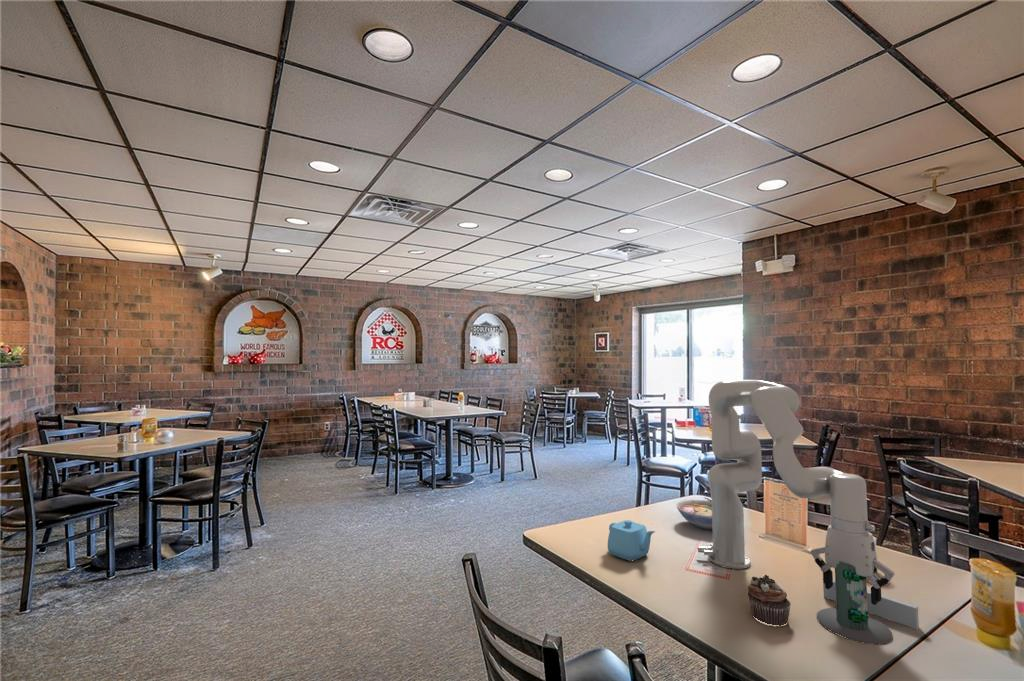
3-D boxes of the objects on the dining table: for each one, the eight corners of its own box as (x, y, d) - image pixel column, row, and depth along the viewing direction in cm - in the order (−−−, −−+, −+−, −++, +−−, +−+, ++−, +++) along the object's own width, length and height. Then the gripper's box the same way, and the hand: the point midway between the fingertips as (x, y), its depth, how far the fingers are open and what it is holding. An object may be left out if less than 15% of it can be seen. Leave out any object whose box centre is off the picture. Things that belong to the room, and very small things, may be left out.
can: (859, 632, 111) (857, 568, 112) (832, 620, 117) (830, 559, 118) (872, 625, 114) (869, 563, 115) (844, 614, 120) (842, 554, 120)
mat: (837, 641, 109) (836, 639, 109) (805, 608, 124) (805, 606, 124) (908, 646, 107) (908, 644, 107) (867, 612, 122) (867, 610, 122)
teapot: (645, 570, 147) (644, 533, 147) (599, 553, 160) (598, 519, 161) (666, 559, 155) (665, 524, 155) (620, 544, 168) (620, 512, 169)
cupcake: (773, 632, 112) (772, 590, 113) (739, 613, 121) (738, 574, 122) (800, 624, 116) (799, 582, 117) (765, 605, 125) (764, 567, 126)
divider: (917, 629, 114) (916, 608, 114) (823, 597, 129) (823, 578, 130) (918, 627, 115) (917, 606, 115) (826, 595, 130) (825, 577, 131)
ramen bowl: (665, 517, 198) (665, 497, 198) (716, 515, 200) (716, 495, 201) (694, 539, 173) (694, 516, 173) (752, 536, 175) (752, 514, 176)
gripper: (897, 531, 112) (900, 604, 111) (816, 513, 126) (818, 578, 125) (887, 538, 107) (890, 614, 107) (804, 518, 121) (806, 586, 120)
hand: (851, 594), depth 116 cm, fingers open, 9 cm apart
